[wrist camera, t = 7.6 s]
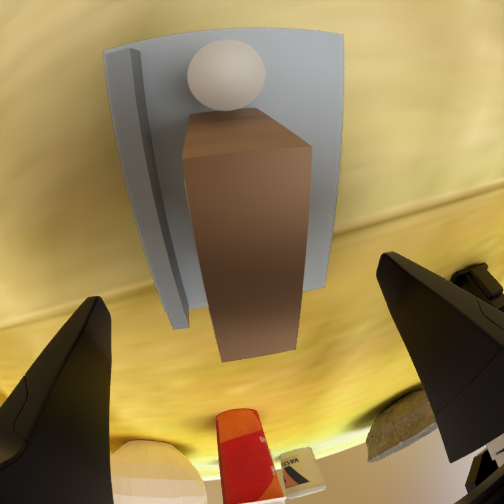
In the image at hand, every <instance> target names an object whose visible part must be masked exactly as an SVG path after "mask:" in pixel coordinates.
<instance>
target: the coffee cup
mask: <svg viewBox="0 0 504 504" xmlns="http://www.w3.org/2000/svg"><path fill="white" fill-rule="evenodd" d="M280 459H281V466H282V472H283V477H284V483H285V488H286V493H287V495H286V496H287V497H288V499H291V498H296V497H300V496H304V495H308V494H312V493H315V492H319V491H322V490H325V489H326V488H325V487H326V484H325V483H324V480H323V477H322V475H321V472H320V470H319V467H318V465H317V462H316V459H315V457H314V454H313V452H312V449H311V448H301V449H297V450H293V451H290V452H287V453H284V454H282V455H281V456H280Z"/></svg>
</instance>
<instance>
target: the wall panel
mask: <svg viewBox="0 0 504 504" xmlns="http://www.w3.org/2000/svg"><path fill="white" fill-rule="evenodd" d="M103 55H104V65H105V73H106V82H107V89H108V96H109V103H110V109H111V115H112V121H113V127H114V132H115V137H116V142H117V147H118V152H119V157H120V162H121V166H122V170H123V175H124V179H125V183H126V187H127V191H128V195H129V199H130V203H131V207H132V210H133V214H134V218H135V221H136V225H137V228H138V232H139V235H140V238H141V242H142V245H143V248H144V252H145V255H146V258H147V261H148V264H149V267H150V270H151V273H152V276H153V279H154V282H155V285H156V288H157V290H158V293H159V296H160V299H161V302H162V304H163V307H164V310H165V312H167V314H168V317H169V320H170V322H171V325H172V327H173V330H175V329H183V328H189V309H196V308H203V307H208V303H207V299H206V294H205V289H204V285H203V280H202V275H201V270H200V265H199V260H198V255H197V250H196V245H195V240H194V235H193V229H192V224H191V218H190V212H189V207H188V201H187V195H186V189H185V183H184V172H183V165H182V154H183V148H184V142H185V136H186V131H187V125H188V120H189V115H190V114H195V113H203V112H211V111H220V110H221V111H230V110H235V109H242V108H257V109H259V110H261V111H262V112H264V113H265V114H267V115H268V116H270V117H271V118H273V119H274V120H276V121H277V122H279V123H280V124H281V125H283V126H284V127H286V128H287V129H289V130H290V131H291V132H293V133H294V134H296V135H297V136H298V137H300V138H301V139H303V140H304V141H305V142H307V143H308V144H309V145H311V146H312V167H311V188H310V206H309V221H308V235H307V248H306V259H305V271H304V281H303V291H302V292H304V291H309V290H315V289H320V288H324V287H325V281H326V275H327V268H328V262H329V255H330V248H331V241H332V233H333V226H334V217H335V209H336V200H337V190H338V180H339V168H340V156H341V141H342V124H343V99H344V34H339V33H332V32H323V31H314V30H303V29H287V28H232V29H217V30H205V31H196V32H188V33H181V34H174V35H168V36H162V37H157V38H152V39H147V40H142V41H138V42H134V43H130V44H126V45H122V46H118V47H114V48H111V49H107V50H104V51H103Z"/></svg>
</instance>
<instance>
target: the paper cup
mask: <svg viewBox="0 0 504 504" xmlns="http://www.w3.org/2000/svg"><path fill="white" fill-rule="evenodd" d="M216 429H217V444H218V456H219V467H220V477H221V486H222V495H223V504H285V499H286V498H287V497H284V496H283V493H282V489H281V486H280V483H279V480H278V477H277V474H276V471H275V467H274V464H273V461H272V458H271V454H270V451H269V448H268V445H267V441H266V438H265V435H264V432H263V428H262V425H261V422H260V419H259V416H258V413H257V411H255V410H252V409H234V410H229V411H226V412H223V413H221V414H219V415H218V416H217V417H216Z"/></svg>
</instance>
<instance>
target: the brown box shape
mask: <svg viewBox="0 0 504 504" xmlns="http://www.w3.org/2000/svg"><path fill="white" fill-rule="evenodd" d="M182 165H183V172H184V183H185V189H186V195H187V201H188V207H189V212H190V218H191V224H192V229H193V235H194V240H195V245H196V250H197V255H198V260H199V265H200V270H201V275H202V280H203V285H204V289H205V294H206V299H207V303H208V308H209V312H210V316H211V321H212V325H213V329H214V334H215V337H216V340H217V344H218V348H219V352H220V356H221V360H222V362H228V361H235V360H241V359H247V358H253V357H259V356H264V355H270V354H275V353H280V352H285V351H290V350H295V349H296V343H297V335H298V327H299V318H300V310H301V300H302V291H303V281H304V271H305V259H306V248H307V235H308V221H309V206H310V188H311V167H312V146H311V145H309V144H308V143H307V142H305V141H304V140H303V139H301V138H300V137H298V136H297V135H296V134H294V133H293V132H291V131H290V130H289V129H287V128H286V127H284V126H283V125H281V124H280V123H279V122H277V121H276V120H274V119H273V118H271V117H270V116H268V115H267V114H265V113H264V112H262V111H261V110H259V109H257V108H242V109H235V110H230V111H221V110H220V111H211V112H203V113H195V114H190V115H189V120H188V125H187V131H186V136H185V142H184V148H183V154H182Z"/></svg>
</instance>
